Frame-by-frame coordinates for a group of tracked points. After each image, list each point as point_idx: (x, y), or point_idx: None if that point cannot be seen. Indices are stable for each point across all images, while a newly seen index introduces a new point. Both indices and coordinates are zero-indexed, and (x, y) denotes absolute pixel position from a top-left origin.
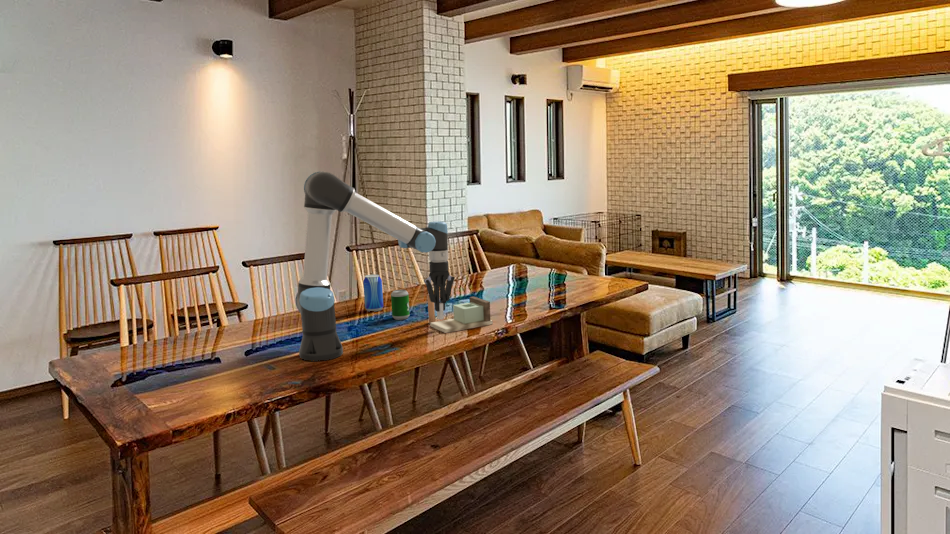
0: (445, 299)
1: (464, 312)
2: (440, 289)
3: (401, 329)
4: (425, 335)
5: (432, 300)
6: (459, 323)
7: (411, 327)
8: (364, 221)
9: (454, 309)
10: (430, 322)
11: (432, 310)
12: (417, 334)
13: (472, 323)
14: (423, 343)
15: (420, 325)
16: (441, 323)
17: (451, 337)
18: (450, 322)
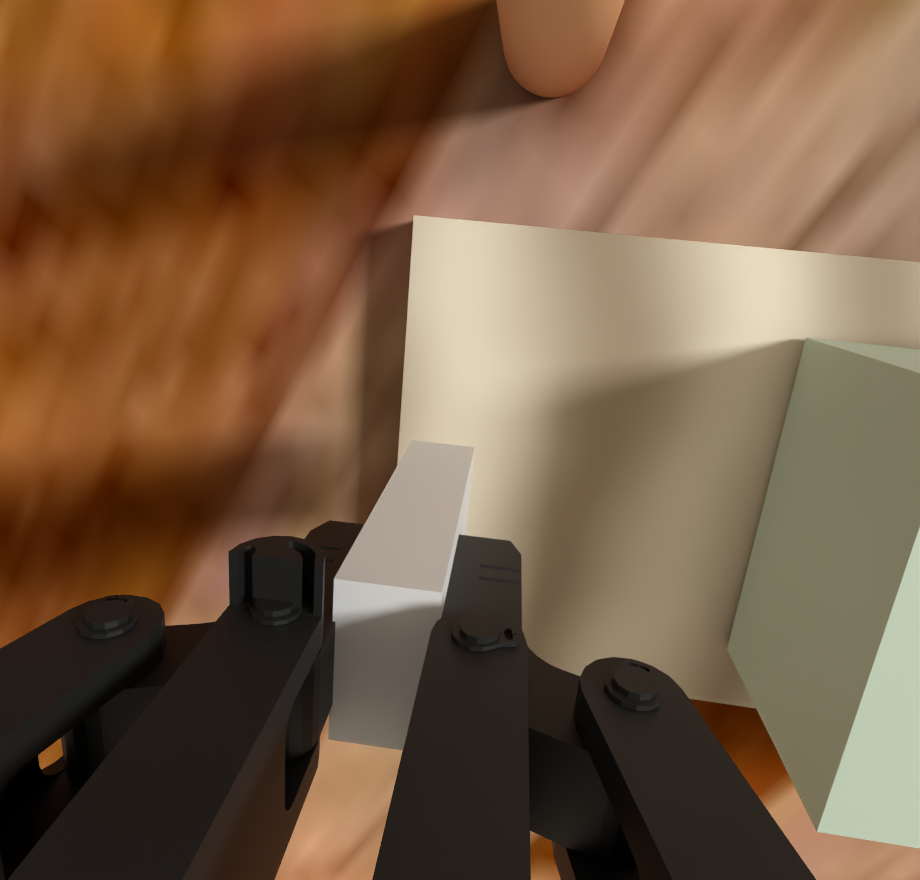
0: (531, 806)
1: (796, 778)
2: None
3: (18, 66)
4: (175, 547)
5: (49, 782)
6: (703, 568)
7: (177, 65)
8: None
9: (891, 415)
10: (508, 65)
11: (549, 18)
12: (115, 449)
13: None
14: (51, 747)
15: (335, 52)
16: (518, 385)
17: (359, 784)
18: (652, 431)
